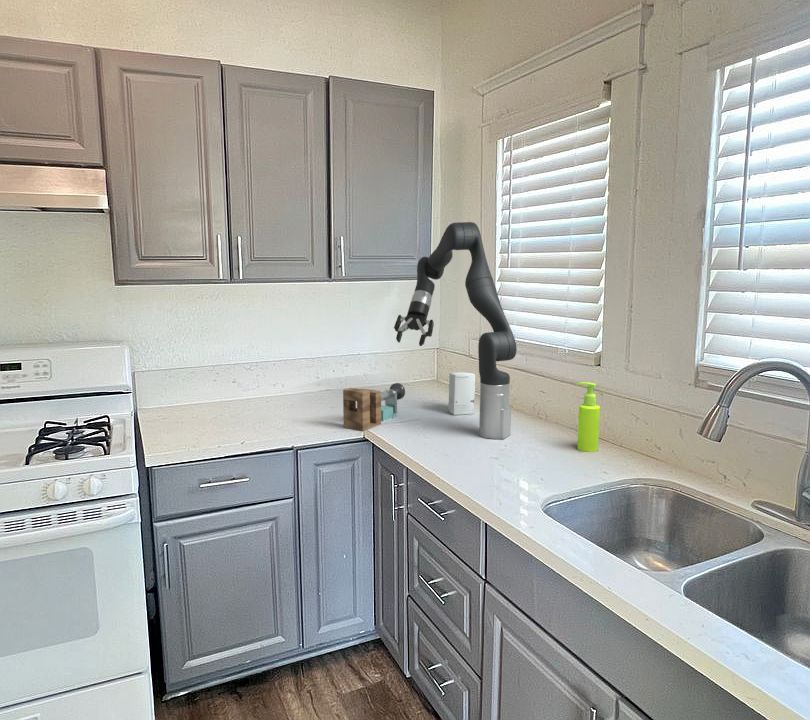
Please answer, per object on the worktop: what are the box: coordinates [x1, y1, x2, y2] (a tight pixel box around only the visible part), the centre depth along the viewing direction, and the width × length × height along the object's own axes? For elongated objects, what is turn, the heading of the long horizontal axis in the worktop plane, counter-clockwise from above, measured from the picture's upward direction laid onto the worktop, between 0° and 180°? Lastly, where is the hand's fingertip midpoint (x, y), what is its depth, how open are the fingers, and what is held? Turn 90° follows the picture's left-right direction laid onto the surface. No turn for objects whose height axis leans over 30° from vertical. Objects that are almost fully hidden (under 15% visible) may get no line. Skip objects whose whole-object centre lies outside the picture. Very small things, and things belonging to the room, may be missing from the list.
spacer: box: [381, 404, 394, 422], centre depth 215 cm, size 5×6×4 cm
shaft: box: [370, 382, 406, 415], centre depth 215 cm, size 6×21×10 cm, turn 147°
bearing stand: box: [342, 387, 382, 432], centre depth 205 cm, size 8×10×13 cm
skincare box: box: [447, 371, 476, 416], centre depth 222 cm, size 8×6×15 cm
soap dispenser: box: [576, 381, 601, 453], centre depth 180 cm, size 6×7×20 cm
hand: (409, 343), depth 224 cm, fingers open, 8 cm apart
